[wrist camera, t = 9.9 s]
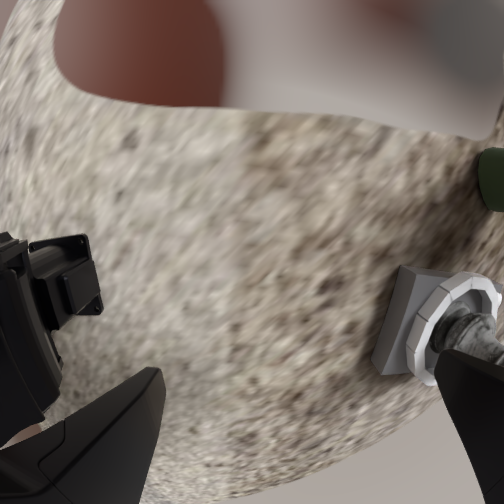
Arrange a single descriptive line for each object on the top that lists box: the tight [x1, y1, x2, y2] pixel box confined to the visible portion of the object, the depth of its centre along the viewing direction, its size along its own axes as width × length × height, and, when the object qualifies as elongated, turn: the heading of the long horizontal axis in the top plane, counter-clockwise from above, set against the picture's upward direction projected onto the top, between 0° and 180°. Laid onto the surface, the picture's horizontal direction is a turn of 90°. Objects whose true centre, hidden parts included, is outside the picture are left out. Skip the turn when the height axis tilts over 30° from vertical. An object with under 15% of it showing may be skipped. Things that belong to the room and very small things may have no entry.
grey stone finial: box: [429, 301, 504, 367], centre depth 14 cm, size 6×6×12 cm
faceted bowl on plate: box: [370, 265, 503, 386], centre depth 20 cm, size 13×10×4 cm
